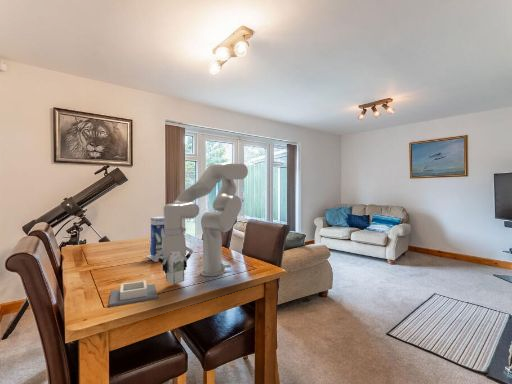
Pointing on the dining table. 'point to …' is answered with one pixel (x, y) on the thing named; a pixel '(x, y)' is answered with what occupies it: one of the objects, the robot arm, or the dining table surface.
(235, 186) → the robot arm
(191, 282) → the dining table surface
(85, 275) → the dining table surface
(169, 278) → the syrup box
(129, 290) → the collar holder
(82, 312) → the dining table surface
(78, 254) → the dining table surface
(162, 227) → the string lights box
